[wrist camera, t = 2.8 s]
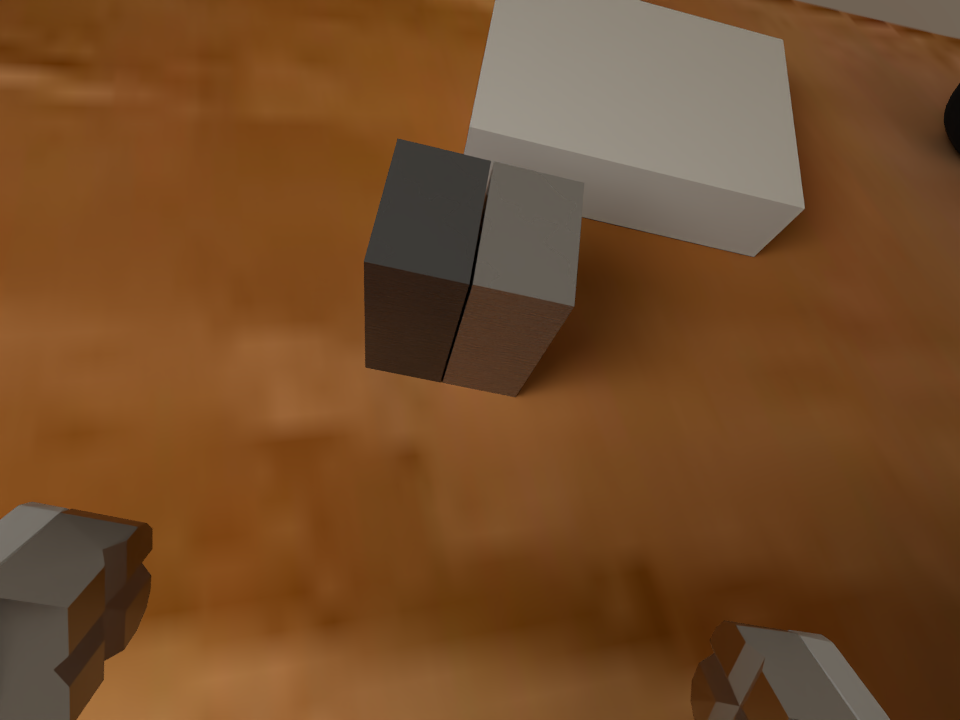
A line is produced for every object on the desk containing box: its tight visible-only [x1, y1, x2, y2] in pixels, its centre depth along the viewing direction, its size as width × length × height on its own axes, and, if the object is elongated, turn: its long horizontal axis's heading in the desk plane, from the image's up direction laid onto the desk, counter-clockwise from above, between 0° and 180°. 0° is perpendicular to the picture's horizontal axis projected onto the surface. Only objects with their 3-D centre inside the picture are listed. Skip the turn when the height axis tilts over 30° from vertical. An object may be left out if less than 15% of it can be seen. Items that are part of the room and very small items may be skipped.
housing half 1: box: [443, 161, 584, 397], centre depth 22 cm, size 3×5×8 cm, turn 172°
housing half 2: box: [364, 139, 491, 382], centre depth 22 cm, size 3×5×8 cm, turn 172°
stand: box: [464, 0, 805, 257], centre depth 31 cm, size 16×12×4 cm
